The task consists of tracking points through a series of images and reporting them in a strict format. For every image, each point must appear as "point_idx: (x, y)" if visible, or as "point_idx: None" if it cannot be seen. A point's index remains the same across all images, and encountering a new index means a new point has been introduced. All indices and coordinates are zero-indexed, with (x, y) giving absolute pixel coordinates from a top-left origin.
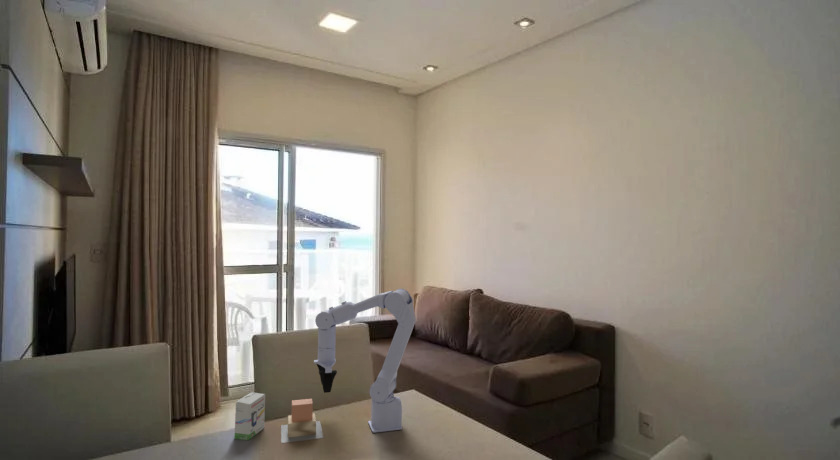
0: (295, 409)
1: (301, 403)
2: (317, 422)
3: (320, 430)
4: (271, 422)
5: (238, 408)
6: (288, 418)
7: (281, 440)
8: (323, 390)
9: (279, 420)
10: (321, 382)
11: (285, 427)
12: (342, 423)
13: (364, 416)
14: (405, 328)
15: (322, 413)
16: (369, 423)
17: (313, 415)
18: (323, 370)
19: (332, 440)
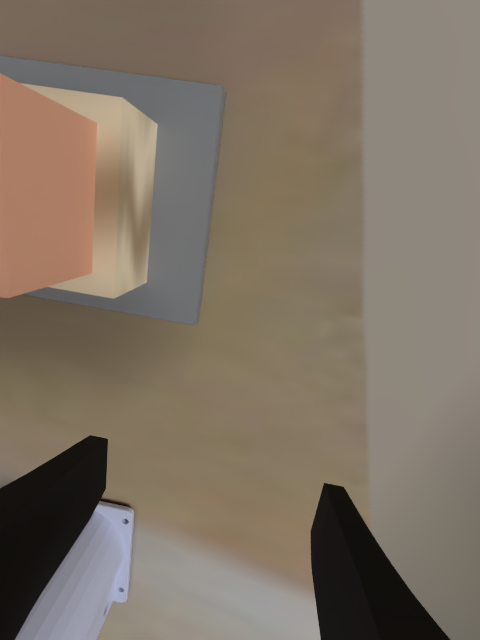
0: None
1: None
2: (179, 308)
3: (80, 297)
4: (345, 37)
5: None
6: (69, 92)
7: (12, 59)
8: (75, 444)
9: (351, 100)
10: (327, 497)
11: (177, 111)
12: (166, 416)
13: (203, 518)
14: None
15: (327, 368)
16: (104, 507)
17: (74, 281)
18: None
19: (11, 325)
